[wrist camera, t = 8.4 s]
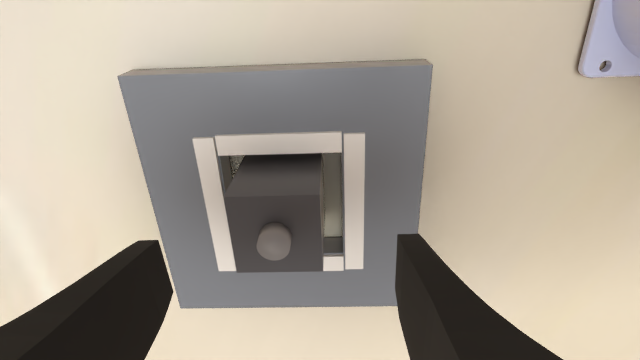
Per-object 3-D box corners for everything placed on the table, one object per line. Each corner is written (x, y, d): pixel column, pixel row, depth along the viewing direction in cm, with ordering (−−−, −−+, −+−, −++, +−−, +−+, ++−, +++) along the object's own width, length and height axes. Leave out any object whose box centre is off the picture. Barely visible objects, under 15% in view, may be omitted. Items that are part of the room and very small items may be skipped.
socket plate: (425, 59, 18) (433, 65, 16) (406, 288, 24) (411, 308, 23) (132, 69, 18) (115, 77, 17) (188, 291, 25) (179, 310, 23)
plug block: (322, 149, 20) (318, 204, 15) (324, 213, 22) (322, 283, 17) (246, 151, 20) (218, 206, 15) (255, 215, 22) (232, 284, 17)
